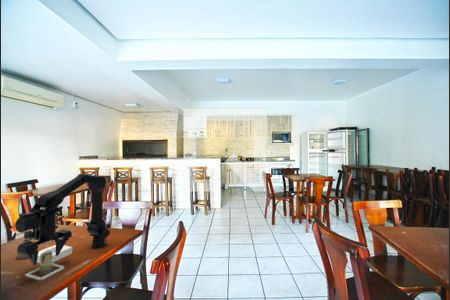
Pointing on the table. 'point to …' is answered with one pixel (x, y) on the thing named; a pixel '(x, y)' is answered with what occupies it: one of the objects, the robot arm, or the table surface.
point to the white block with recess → (63, 253)
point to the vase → (22, 255)
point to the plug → (45, 262)
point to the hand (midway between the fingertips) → (46, 260)
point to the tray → (45, 275)
